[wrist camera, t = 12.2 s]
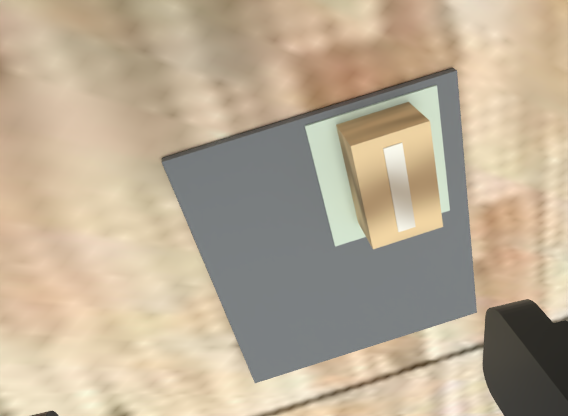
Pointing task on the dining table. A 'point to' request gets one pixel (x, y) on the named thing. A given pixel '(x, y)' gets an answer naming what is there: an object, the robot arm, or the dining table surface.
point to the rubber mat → (323, 235)
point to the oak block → (392, 173)
